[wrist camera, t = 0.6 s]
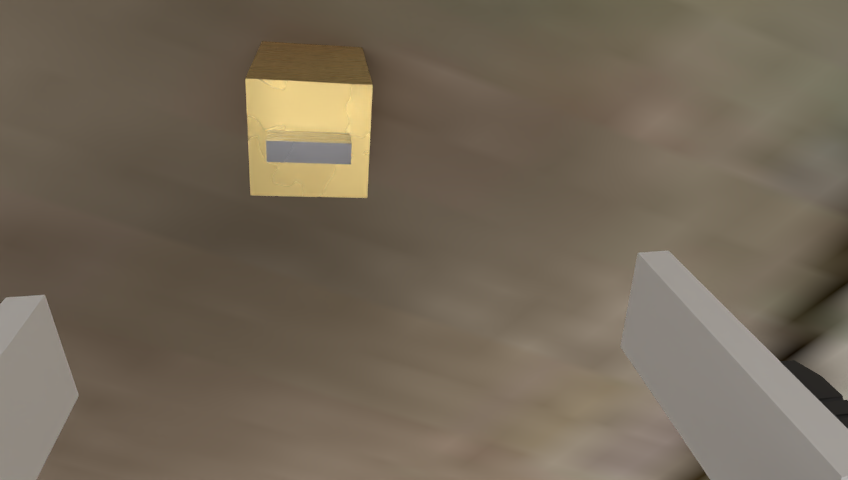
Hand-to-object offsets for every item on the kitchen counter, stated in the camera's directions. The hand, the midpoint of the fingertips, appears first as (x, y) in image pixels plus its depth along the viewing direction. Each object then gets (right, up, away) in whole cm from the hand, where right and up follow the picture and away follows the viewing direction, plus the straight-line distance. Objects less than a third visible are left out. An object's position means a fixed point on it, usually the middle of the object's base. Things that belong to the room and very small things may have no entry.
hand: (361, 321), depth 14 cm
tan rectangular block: (-4, +9, +15) cm, 18 cm away
